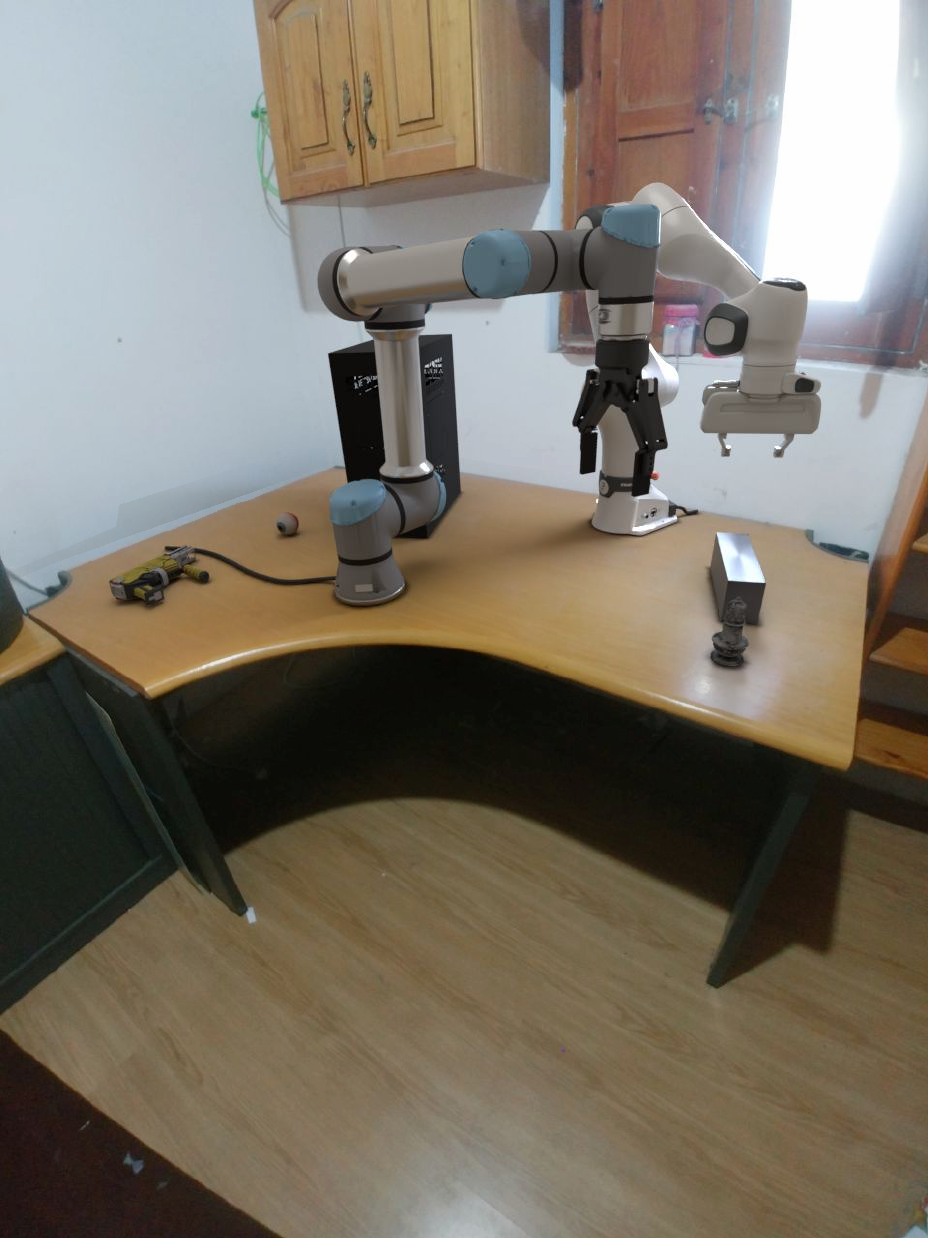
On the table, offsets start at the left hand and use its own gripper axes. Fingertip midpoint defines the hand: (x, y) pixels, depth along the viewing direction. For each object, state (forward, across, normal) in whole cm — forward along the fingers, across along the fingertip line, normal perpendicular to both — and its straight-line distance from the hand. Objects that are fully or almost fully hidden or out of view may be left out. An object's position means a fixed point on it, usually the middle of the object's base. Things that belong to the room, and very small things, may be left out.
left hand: (612, 483), depth 96 cm
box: (+30, -2, +34) cm, 45 cm away
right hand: (+3, -7, +38) cm, 39 cm away
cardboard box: (+30, -84, -6) cm, 89 cm away
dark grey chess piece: (+30, +15, +15) cm, 37 cm away
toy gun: (+30, -69, -71) cm, 103 cm away
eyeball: (+30, -86, -41) cm, 99 cm away
